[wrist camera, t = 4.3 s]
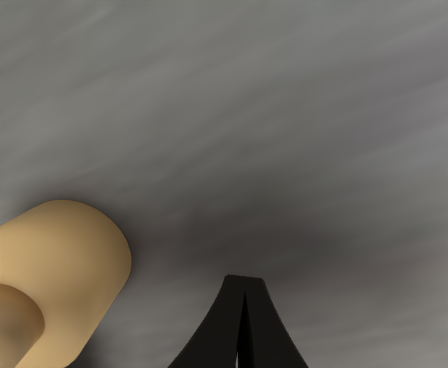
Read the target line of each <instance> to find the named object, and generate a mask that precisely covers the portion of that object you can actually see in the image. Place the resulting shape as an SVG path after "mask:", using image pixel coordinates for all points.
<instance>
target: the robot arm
mask: <svg viewBox="0 0 448 368" xmlns="http://www.w3.org/2000/svg"><path fill="white" fill-rule="evenodd" d="M237 351H238V368H309V367H308V366H307V364H306V363H305V361H304V360H303V358H302V356H301V355H300V353H299V352H298V350H297V348H296V346H295V345H294V343H293V341H292V340H291V338H290V336H289V334H288V333H287V331H286V329H285V327H284V325H283V323H282V321H281V319H280V317H279V315H278V313H277V311H276V309H275V307H274V305H273V303H272V300H271V298H270V296H269V293H268V291H267V288H266V285H265V282H264V281H263V279H262V278H254V277H246V276H238V275H229V274H228V275H226V276H225V278H224V281H223V284H222V287H221V289H220V291H219V293H218V295H217V297H216V299H215V301H214V303H213V305H212V306H211V308H210V310H209V312H208V313H207V315H206V317H205V318H204V320H203V321H202V323H201V324H200V326H199V327H198V329H197V330H196V332H195V333H194V335H193V336H192V338H191V339H190V340H189V342H188V343H187V344H186V346H185V347H184V348H183V350H182V351H181V352H180V353H179V355H178V356H177V357H176V358H175V360H174V361H173V362H172V363H171V364H170V366H169V367H168V368H235V367H236V358H237Z"/></svg>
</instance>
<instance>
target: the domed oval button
mask: <svg viewBox="0 0 448 368" xmlns="http://www.w3.org/2000/svg"><path fill="white" fill-rule="evenodd" d="M130 271H131V253H130V249H129V246H128V243H127V241H126V239H125V237H124V235H123V234H122V232H121V231H120V229H119V228H118V227H117V226H116V225H115V223H114V222H113V221H112V220H111V219H109V218H108V217H107V216H106V215H105V214H103V213H102V212H100V211H99V210H97V209H95V208H93V207H91V206H89V205H87V204H84V203H81V202H77V201H72V200H52V201H48V202H45V203H42V204H40V205H38V206H36V207H34V208H32V209H30V210H28V211H27V212H25V213H23V214H21V215H19V216H17V217H15V218H13V219H11V220H10V221H8V222H6V223H4V224H2V225H0V368H64V367H66V366H68V365H69V364H70V363H72V362H73V361H74V360H75V359H76V357H77V356H78V355H79V354H80V352H81V351H82V349H83V348H84V346H85V344H86V343H87V341H88V340H89V338H90V337H91V335H92V334H93V332H94V331H95V329H96V328H97V326H98V324H99V323H100V321H101V320H102V318H103V317H104V315H105V314H106V312H107V311H108V309H109V308H110V306H111V305H112V303H113V301H114V300H115V298H116V297H117V295H118V294H119V292H120V291H121V289H122V288H123V286H124V285H125V283H126V281H127V279H128V277H129V275H130Z"/></svg>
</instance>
